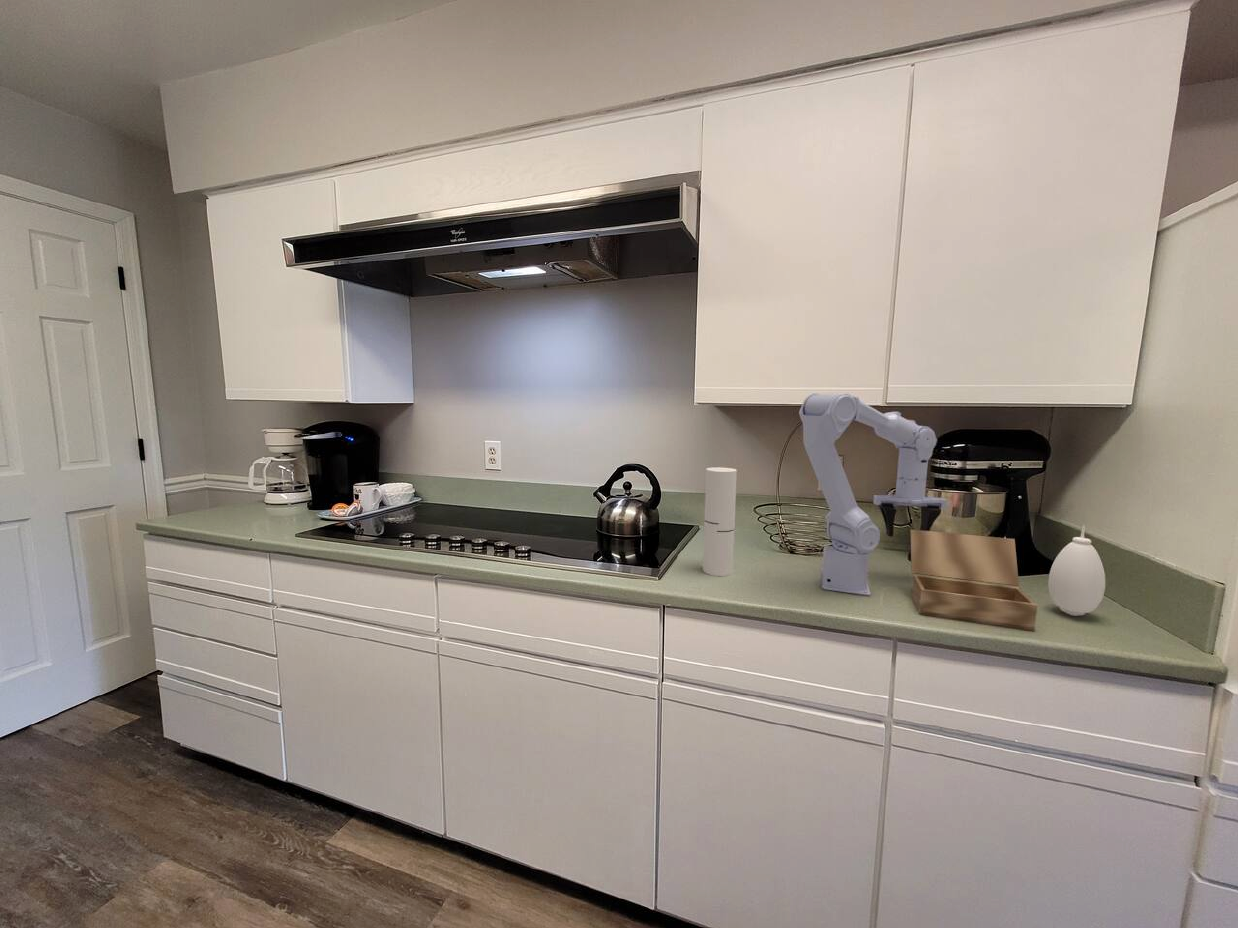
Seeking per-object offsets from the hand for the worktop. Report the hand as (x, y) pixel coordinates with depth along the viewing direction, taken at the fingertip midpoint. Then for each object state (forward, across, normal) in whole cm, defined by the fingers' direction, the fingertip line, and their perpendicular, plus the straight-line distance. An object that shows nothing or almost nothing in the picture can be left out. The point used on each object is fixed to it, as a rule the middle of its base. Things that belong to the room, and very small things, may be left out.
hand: (906, 536), depth 111 cm
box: (+10, +6, -17) cm, 21 cm away
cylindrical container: (+11, -42, -4) cm, 44 cm away
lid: (+1, +7, -10) cm, 12 cm away
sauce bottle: (+11, +26, -13) cm, 31 cm away
